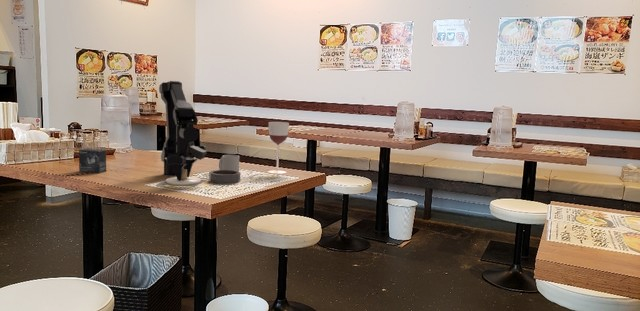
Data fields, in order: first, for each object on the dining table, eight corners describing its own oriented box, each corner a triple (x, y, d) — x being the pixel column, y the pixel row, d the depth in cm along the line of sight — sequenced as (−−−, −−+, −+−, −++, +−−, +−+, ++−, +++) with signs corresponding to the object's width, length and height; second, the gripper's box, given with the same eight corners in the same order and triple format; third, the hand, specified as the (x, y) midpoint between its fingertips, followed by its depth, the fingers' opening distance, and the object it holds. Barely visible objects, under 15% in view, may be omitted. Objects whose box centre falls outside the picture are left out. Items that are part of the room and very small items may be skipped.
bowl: (205, 183, 192) (205, 173, 192) (215, 178, 204) (215, 169, 203) (234, 185, 191) (235, 175, 190) (243, 180, 203) (243, 171, 202)
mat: (158, 185, 185) (158, 184, 185) (173, 179, 199) (173, 177, 199) (194, 188, 183) (194, 186, 183) (207, 181, 197) (207, 180, 197)
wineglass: (263, 172, 224) (264, 122, 221) (273, 169, 234) (275, 121, 231) (281, 174, 221) (282, 123, 218) (290, 171, 230) (292, 122, 227)
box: (78, 172, 206) (78, 149, 205) (86, 170, 211) (86, 148, 210) (99, 173, 204) (98, 151, 203) (106, 171, 210) (106, 149, 209)
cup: (231, 178, 206) (231, 157, 205) (213, 175, 211) (213, 155, 210) (242, 176, 212) (242, 156, 211) (224, 173, 217) (224, 153, 216)
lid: (160, 184, 185) (160, 171, 185) (174, 178, 198) (174, 166, 197) (193, 186, 184) (193, 173, 183) (205, 180, 197) (205, 167, 196)
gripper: (195, 142, 179) (194, 184, 181) (212, 138, 197) (211, 176, 199) (165, 141, 180) (165, 182, 182) (185, 136, 198) (185, 174, 200)
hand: (183, 178), depth 191 cm, fingers open, 7 cm apart
